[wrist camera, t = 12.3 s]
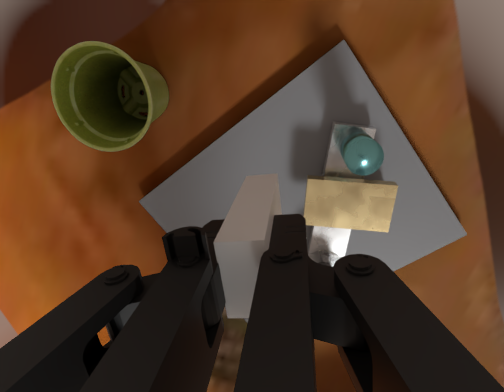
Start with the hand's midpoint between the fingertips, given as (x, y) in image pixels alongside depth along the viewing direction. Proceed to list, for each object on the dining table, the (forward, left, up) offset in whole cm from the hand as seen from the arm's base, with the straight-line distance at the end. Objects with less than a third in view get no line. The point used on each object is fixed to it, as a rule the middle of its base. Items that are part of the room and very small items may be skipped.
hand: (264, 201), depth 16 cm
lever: (-10, 0, -20) cm, 22 cm away
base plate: (-9, +5, -22) cm, 24 cm away
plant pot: (+13, +10, -22) cm, 27 cm away
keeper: (-9, -1, -20) cm, 22 cm away
